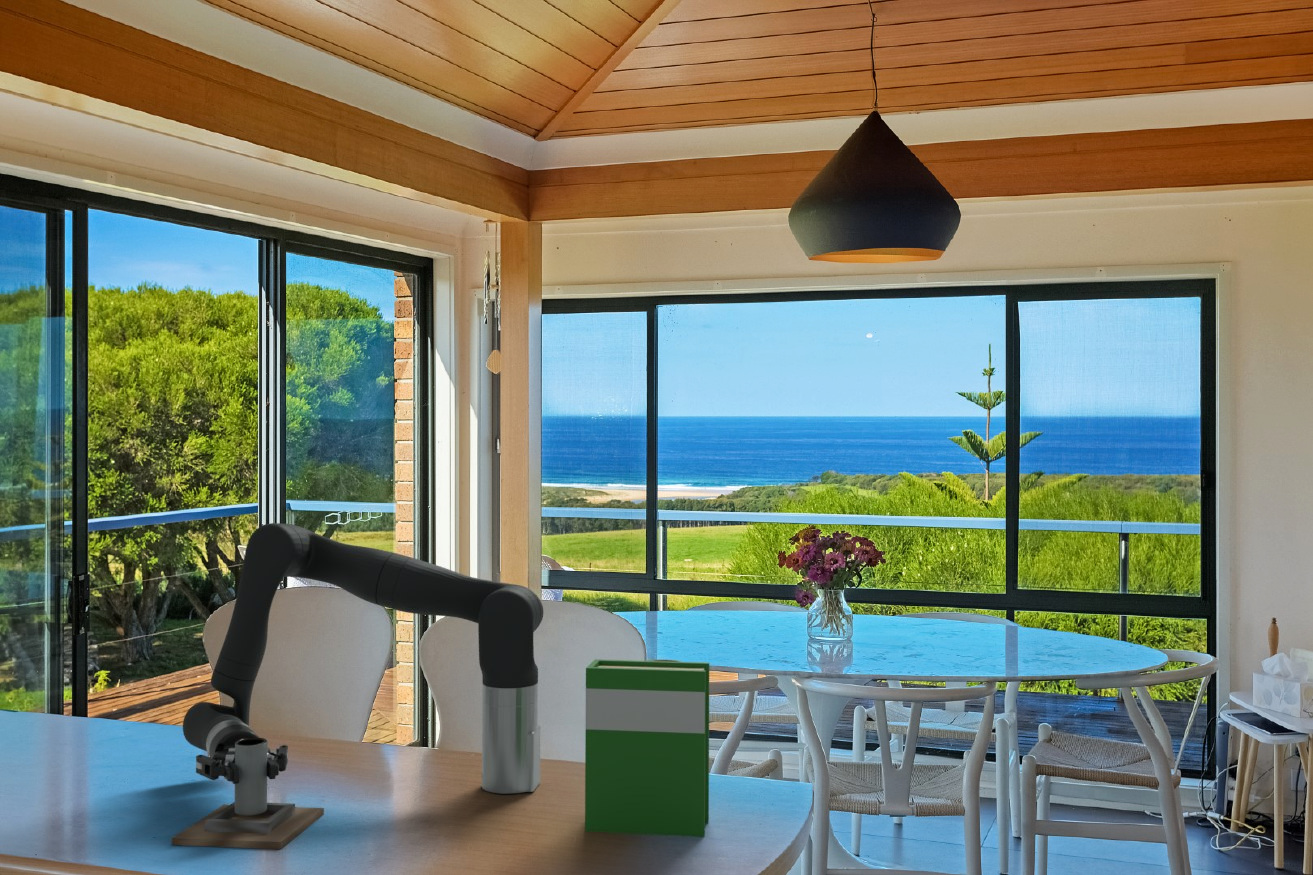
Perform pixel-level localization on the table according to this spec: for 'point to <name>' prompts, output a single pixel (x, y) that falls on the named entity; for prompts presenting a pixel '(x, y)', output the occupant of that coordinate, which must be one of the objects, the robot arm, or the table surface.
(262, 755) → the grey cylinder
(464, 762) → the table surface
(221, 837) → the base
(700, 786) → the hardback book
